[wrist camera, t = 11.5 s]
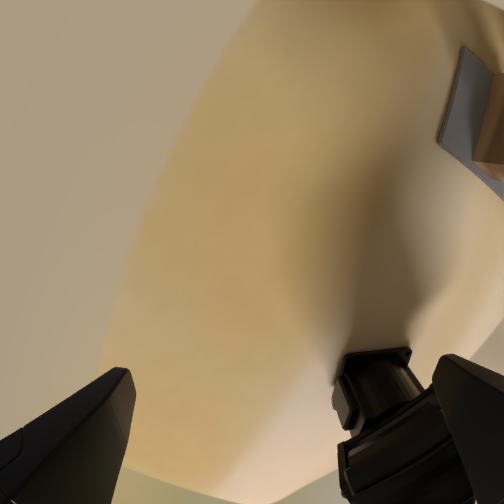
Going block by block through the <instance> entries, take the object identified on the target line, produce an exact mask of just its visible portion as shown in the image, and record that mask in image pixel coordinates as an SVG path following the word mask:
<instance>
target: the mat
mask: <svg viewBox="0 0 504 504" xmlns="http://www.w3.org/2000/svg"><path fill="white" fill-rule="evenodd" d="M492 75H495V74H494V73H493V72H492V71H491V70H490V69H489V68H488V67H487V66H486V65H485V64H484V63H483V62H482V61H481V60H480V59H479V58H478V57H477V56H476V55H475V54H474V53H473V52H472V51H470V50H469V49H468V48H467V47H466V46H465V47H462V48H461V53H460V58H459V63H458V68H457V72H456V77H455V81H454V85H453V89H452V93H451V97H450V101H449V104H448V108H447V112H446V115H445V118H444V122H443V125H442V128H441V132H440V135H439V138H438V141H437V144H438V145H440V146H441V147H442V148H444V149H445V150H446V151H448V152H449V153H450V154H451V155H453V156H454V157H455V158H456V159H458V160H459V161H460V162H461V163H462V164H464V165H465V166H466V167H467V168H468V169H470V170H471V171H472V172H473V173H474V174H475V175H476V176H478V177H479V178H480V179H481V180H482V181H483V182H484V183H485V184H486V185H488V186H489V187H490V188H491V189H492V190H493V191H494V192H495V193H496V194H497V195H498V196H499V197H500V198H501V199H502V200H503V201H504V182H502V181H497V180H492V179H491V178H490V177H489V176H488V175H487V174H485V173H484V172H483V171H482V170H481V169H480V168H479V167H478V166H477V165H476V164H475V163H473V162H472V159H473V156H474V153H475V149H476V146H477V142H478V138H479V135H480V131H481V127H482V123H483V118H484V114H485V109H486V105H487V100H488V94H489V89H490V83H491V77H492Z"/></svg>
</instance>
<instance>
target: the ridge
mask: <svg viewBox="0 0 504 504" xmlns="http://www.w3.org/2000/svg"><path fill="white" fill-rule="evenodd" d="M472 162H473V163H475V164H476V165H477V166H478V167H479V168H480V169H481V170H482V171H483V172H484V173H485V174H487V175H488V176H489V177H490V178H491V179H492V180H497V181H502V182H504V73H501V74H496V75H492V77H491V83H490V89H489V94H488V100H487V105H486V109H485V114H484V118H483V123H482V127H481V131H480V135H479V138H478V142H477V146H476V149H475V153H474V156H473V159H472Z"/></svg>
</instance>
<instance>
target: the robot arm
mask: <svg viewBox="0 0 504 504" xmlns="http://www.w3.org/2000/svg"><path fill="white" fill-rule="evenodd" d="M406 352H407V353H406ZM411 354H412V350H411V349H410V347H401V348H394V349H386V350H377V351H368V352H358V353H349V354H347V355H346V356H345V357H344V360H343V364H342V368H341V373H340V376H338V378H337V380H336V384H335V388H334V392H333V396H332V399H333V404H332V406H333V409H334V410H336V411H337V414H338V417H339V420H340V422H341V425H342V428H343V429H344V430H345V431H347V430H349V431H350V434H351V437H352V438H351V439H349V440H347V441H345V442H344V441H343V442H341V443H339V444H337V447H338V453H337V455H338V468H339V482H340V488H341V495H342V496H343V498H346V499H347V500H348V501H349V503H350V504H475V501H477V504H504V376H503V375H501V374H499V373H496V372H494V371H492V370H489V369H487V368H485V367H482V366H480V365H478V364H476V363H473V362H471V361H469V360H466V359H464V358H462V357H460V356H457V355H455V354H446V355H443V356H441V357H440V359H439V361H438V364H437V366H436V369H435V371H434V373H433V376H432V384H430V385H429V387H428V388H427V389H426V390H425V389H424V388H423V386H422V385H421V384H420V382H419V381H418V379H417V378H416V376H415V375H414V374H413V372H412V371H411V369H410V368H409V367H408V363H409V360H410V357H411ZM351 358H352V359H351ZM349 359H351V360H349ZM135 400H136V390H135V386H134V382H133V379H132V375H131V372H130V370H129V369H127V368H121V367H114V368H112V369H111V370H109V371H108V372H106V373H105V374H103V375H102V376H100V377H99V378H97V379H96V380H94V381H93V382H91V383H90V384H88V385H87V386H85V387H84V388H82V389H80V390H79V391H77V392H76V393H74V394H73V395H71V396H70V397H68V398H67V399H65V400H64V401H62V402H61V403H59V404H57V405H56V406H55V407H53V408H51V409H50V410H48V411H47V412H45V413H43V414H42V415H40V416H39V417H37V418H36V419H34V420H33V421H31V422H29V423H28V424H26V425H25V426H24V427H23V428H20V429H18V430H17V431H15V432H14V433H12V434H10V435H8V436H7V437H5V438H4V439H2V440H0V504H111V501H112V497H113V494H114V490H115V486H116V483H117V479H118V475H119V471H120V468H121V465H122V461H123V458H124V455H125V451H126V448H127V444H128V439H129V433H130V428H131V422H132V416H133V411H134V406H135Z"/></svg>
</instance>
